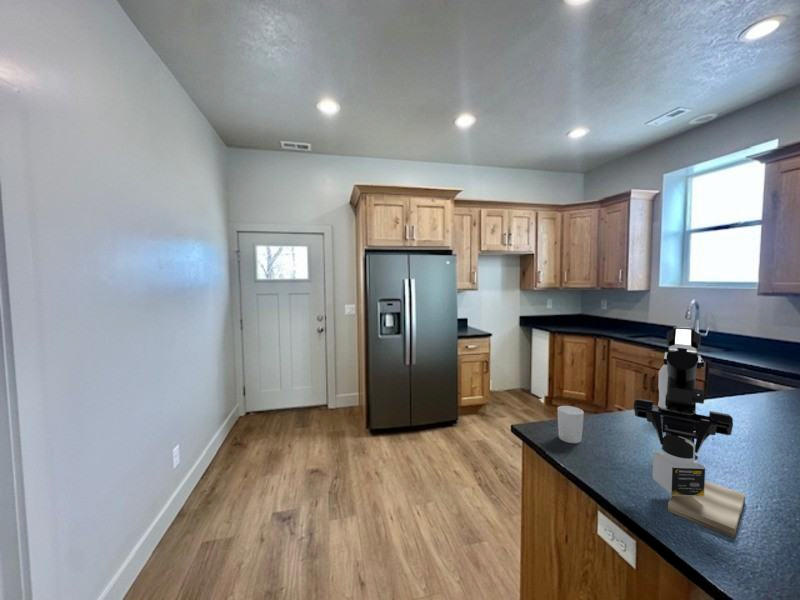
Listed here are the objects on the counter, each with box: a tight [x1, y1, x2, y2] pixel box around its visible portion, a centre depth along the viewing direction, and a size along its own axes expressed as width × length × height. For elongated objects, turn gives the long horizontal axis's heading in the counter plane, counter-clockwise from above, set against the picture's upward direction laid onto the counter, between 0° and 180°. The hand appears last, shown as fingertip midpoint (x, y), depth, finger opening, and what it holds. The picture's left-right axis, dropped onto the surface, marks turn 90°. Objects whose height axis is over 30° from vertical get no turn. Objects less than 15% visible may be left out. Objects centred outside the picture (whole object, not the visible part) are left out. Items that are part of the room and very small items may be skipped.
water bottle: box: [657, 364, 668, 418], centre depth 132 cm, size 7×7×25 cm
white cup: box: [557, 405, 585, 444], centre depth 114 cm, size 8×8×10 cm
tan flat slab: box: [667, 480, 746, 539], centre depth 80 cm, size 18×11×2 cm, turn 130°
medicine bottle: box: [652, 435, 706, 497], centre depth 81 cm, size 7×7×12 cm
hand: (678, 448), depth 81 cm, fingers closed on medicine bottle, 6 cm apart
